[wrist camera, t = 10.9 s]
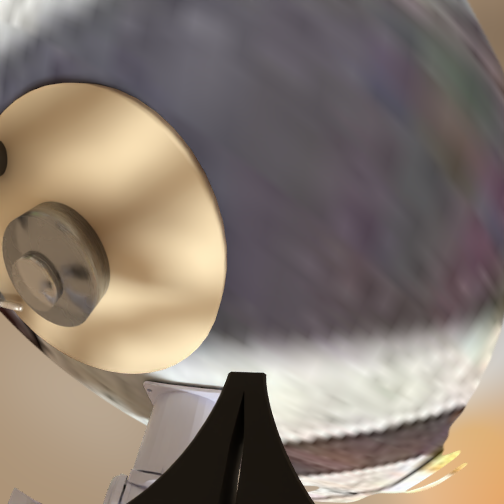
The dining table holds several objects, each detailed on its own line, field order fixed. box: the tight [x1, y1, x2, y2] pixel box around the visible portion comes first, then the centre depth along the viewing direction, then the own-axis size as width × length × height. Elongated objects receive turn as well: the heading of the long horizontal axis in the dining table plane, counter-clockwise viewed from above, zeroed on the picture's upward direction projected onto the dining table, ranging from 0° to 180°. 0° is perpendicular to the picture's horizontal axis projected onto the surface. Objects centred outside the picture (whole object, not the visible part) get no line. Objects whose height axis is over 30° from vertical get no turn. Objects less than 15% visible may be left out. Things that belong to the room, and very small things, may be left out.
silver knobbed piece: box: [0, 291, 24, 311], centre depth 17 cm, size 3×7×6 cm, turn 91°
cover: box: [2, 201, 110, 327], centre depth 13 cm, size 7×7×3 cm
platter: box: [0, 83, 227, 374], centre depth 14 cm, size 20×20×6 cm
